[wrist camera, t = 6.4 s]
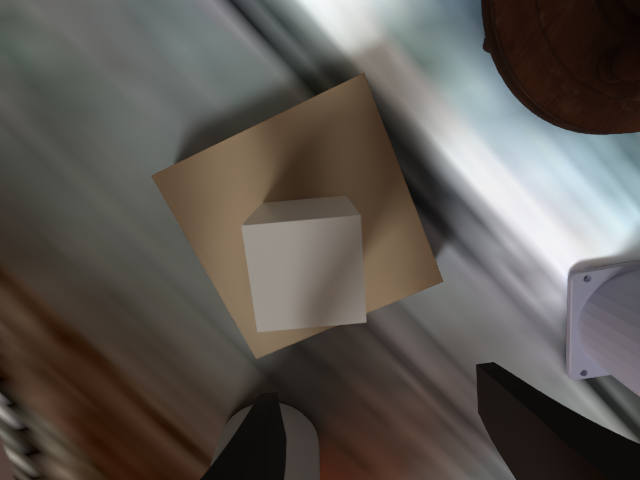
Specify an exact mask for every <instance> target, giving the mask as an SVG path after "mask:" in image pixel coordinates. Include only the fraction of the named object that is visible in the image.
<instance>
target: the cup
mask: <svg viewBox="0 0 640 480" xmlns="http://www.w3.org/2000/svg"><path fill="white" fill-rule="evenodd" d="M279 405H280V409H281V414H282V418H283V423H284V427H285V432H286V437H287V447H286V469H285V477H284V480H320V451H319V441H318V436H317V432H316V430H315V428H314V426H313V425H312V423H311V422H310V421H309V420H308V419H307V418H306V417H305V416H304V415H303V414H302V413H301V412H300V411H298V410H297V409H295V408H293V407H292V406H289V405H285V404H282V403H279ZM252 406H253V405H251V406H248V407H246V408H244V409H242V410H240V411H239V412H238V413H236V414H235V415H234V416H232V417H231V419H230V420H229V421H228V422H227V424H226V425H225V427H224V429H223V432H222V434H221V437H220V439H219V442H218V445H217V448H216V451H215V454H214V457H213V460H212V463H211V465H212V464H213V463H214V461H215V460H216V459H217V457H218V456H219V455H220V453H221V452H222V451H223V449H224V448H225V447H226V445H227V444H228V442H229V441H230V440H231V438H232V437H233V435H234V434H235V432H236V431H237V429H238V428H239V426H240V425H241V423H242V422H243V420H244V419H245V417H246V415H247V414H248V412H249V411H250V409H251V407H252ZM210 467H211V466H210Z"/></svg>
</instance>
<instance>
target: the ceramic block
mask: <svg viewBox="0 0 640 480" xmlns="http://www.w3.org/2000/svg"><path fill="white" fill-rule="evenodd" d="M241 227H242V234H243V241H244V247H245V254H246V261H247V267H248V274H249V281H250V287H251V294H252V300H253V307H254V314H255V320H256V327H257V332H267V331H278V330H289V329H301V328H312V327H323V326H334V325H345V324H356V323H367V321H366V303H365V285H364V266H363V248H362V229H361V215H360V213H359V212H358V211H357V209H356V208H355V207H354V205H353V204H352V203H351V201H350V200H349V199H348V197H347V196H346V195H345V196H333V197H322V198H311V199H299V200H288V201H277V202H266V203H261V204H260V205H259V207H258V208H257V209H256V210H255V211H254V212H253V213H252V214H251V215H250V217H249V218H248V219H247V220H246V221H245V222H244V223H243V224H242V225H241Z"/></svg>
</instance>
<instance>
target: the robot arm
mask: <svg viewBox="0 0 640 480" xmlns="http://www.w3.org/2000/svg"><path fill="white" fill-rule="evenodd" d="M586 275H587V278H586V279H585V280H583V279H584V277H585V276H586ZM582 370H583V371H582ZM476 371H477V395H478V413H479V415H480V417H481V419H482V421H483V424H484V426H485V428H486V430H487V432H488V434H489V436H490V438H491V440H492V442H493V443H494V445H495V447H496V448H497V450H498V452H499V453H500V455H501V456H502V458H503V460H504V461H505V463H506V464H507V466H508V468H509V469H510V471H511V472H512V474H513V475H514V477H515V479H516V480H640V444H639V443H636V442H634V441H632V440H630V439H627V438H625V437H623V436H621V435H619V434H617V433H615V432H613V431H611V430H609V429H607V428H605V427H602V426H600V425H598V424H597V423H595V422H593V421H591V420H589V419H587V418H585V417H583V416H581V415H580V414H578V413H576V412H574V411H572V410H571V409H569V408H567V407H565V406H564V405H562V404H560V403H558V402H557V401H555V400H553V399H552V398H550V397H548V396H547V395H545V394H543V393H542V392H540V391H538V390H537V389H535V388H534V387H532V386H531V385H529V384H527V383H526V382H524V381H523V380H521V379H520V378H518V377H516V376H515V375H513V374H512V373H510V372H509V371H507V370H506V369H504V368H502V367H501V366H499V365H498V364H496V363H494V362H490V363H483V364H476ZM581 371H582V372H581ZM566 374H567V376H568V377H570V378H571V379H573V380H578V379H585V378H592V377H598V376H605V375H612V376H613V377H615V378H616V379H617V380H619V381H620V382H621V383H623V384H624V385H625V386H626V387H628V388H629V389H630V390H632V391H633V392H634V393H636V394H637V395H638V396H640V261H633V262H627V263H621V264H615V265H609V266H602V267H596V268H590V269H584V270H578V271H574V272H572V273H571V274H570V275H569V276H568V294H567V343H566ZM286 447H287V437H286V432H285V427H284V423H283V418H282V414H281V409H280V405H279V400H278V396H277V392H272V393H265V394H260V395H259V396H258V398H257V399H256V401H255V403H254V404H253V406H252V407H251V409H250V411H249V412H248V414H247V415H246V417H245V419H244V420H243V422H242V423H241V425H240V426H239V428H238V429H237V431H236V432H235V434H234V435H233V437H232V438H231V440H230V441H229V442H228V444H227V445H226V447H225V448H224V449H223V451H222V452H221V453H220V455H219V456H218V457H217V459H216V460H215V461H214V463H213V464H212V465H211V467H210V468H209V469H208V470H207V472H206V473H205V474H204V475H203V477H202V478H201V479H200V480H284V477H285V469H286Z"/></svg>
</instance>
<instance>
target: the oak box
mask: <svg viewBox="0 0 640 480" xmlns="http://www.w3.org/2000/svg"><path fill="white" fill-rule="evenodd" d="M152 178H153V180H154V181H155V183H156V185H157V187H158V188H159V190H160V192H161V194H162V195H163V197H164V199H165V201H166V202H167V204H168V206H169V208H170V209H171V211H172V213H173V215H174V216H175V218H176V220H177V222H178V223H179V225H180V227H181V229H182V230H183V232H184V234H185V236H186V237H187V239H188V241H189V243H190V244H191V246H192V248H193V249H194V251H195V253H196V255H197V256H198V258H199V260H200V262H201V263H202V265H203V267H204V269H205V270H206V272H207V274H208V276H209V277H210V279H211V281H212V283H213V284H214V286H215V288H216V290H217V291H218V293H219V295H220V297H221V298H222V300H223V302H224V304H225V305H226V307H227V309H228V311H229V312H230V314H231V316H232V317H233V319H234V321H235V323H236V324H237V326H238V328H239V330H240V331H241V333H242V335H243V337H244V338H245V340H246V342H247V344H248V345H249V347H250V349H251V351H252V352H253V354H254V356H255V358H256V359H258V358H260V357H263V356H265V355H267V354H270V353H272V352H275V351H277V350H279V349H282V348H284V347H287V346H289V345H292V344H294V343H296V342H299V341H301V340H304V339H306V338H308V337H311V336H313V335H316V334H318V333H321V332H323V331H325V330H328V329H330V328H333V327H335V326H337V325H334V326H323V327H312V328H301V329H289V330H278V331H267V332H257V327H256V320H255V314H254V307H253V300H252V294H251V287H250V281H249V274H248V267H247V261H246V254H245V247H244V241H243V234H242V227H241V225H242V224H243V223H244V222H245V221H246V220H247V219H248V218H249V217H250V215H251V214H252V213H253V212H254V211H255V210H256V209H257V208H258V207H259V205H260V204H261V203H266V202H277V201H288V200H299V199H311V198H322V197H333V196H345V195H346V196H347V197H348V199H349V200H350V201H351V203H352V204H353V205H354V207H355V208H356V209H357V211H358V212H359V213H360V215H361V229H362V248H363V266H364V285H365V303H366V313H369V312H371V311H374V310H376V309H379V308H381V307H383V306H386V305H388V304H391V303H393V302H395V301H398V300H400V299H403V298H405V297H408V296H410V295H412V294H415V293H417V292H420V291H422V290H424V289H427V288H429V287H432V286H434V285H437V284H439V283H441V282H443V279H442V276H441V274H440V271H439V269H438V266H437V263H436V261H435V258H434V255H433V253H432V250H431V248H430V245H429V242H428V240H427V237H426V234H425V232H424V229H423V227H422V224H421V221H420V219H419V216H418V213H417V211H416V208H415V206H414V203H413V200H412V198H411V195H410V192H409V190H408V187H407V185H406V182H405V179H404V177H403V174H402V171H401V169H400V166H399V164H398V161H397V158H396V156H395V153H394V151H393V148H392V145H391V143H390V140H389V137H388V135H387V132H386V130H385V127H384V124H383V122H382V119H381V116H380V114H379V111H378V109H377V106H376V103H375V101H374V98H373V95H372V93H371V90H370V88H369V85H368V82H367V80H366V77H365V74H364V73H363V74H360V75H358V76H356V77H354V78H352V79H350V80H348V81H346V82H344V83H342V84H340V85H338V86H336V87H334V88H332V89H329V90H327V91H325V92H323V93H321V94H319V95H317V96H315V97H313V98H311V99H309V100H307V101H305V102H303V103H300V104H298V105H296V106H294V107H292V108H290V109H288V110H286V111H284V112H282V113H280V114H278V115H276V116H274V117H272V118H269V119H267V120H265V121H263V122H261V123H259V124H257V125H255V126H253V127H251V128H249V129H247V130H245V131H243V132H241V133H238V134H236V135H234V136H232V137H230V138H228V139H226V140H224V141H222V142H220V143H218V144H216V145H214V146H212V147H209V148H207V149H205V150H203V151H201V152H199V153H197V154H195V155H193V156H191V157H189V158H187V159H185V160H183V161H181V162H178V163H176V164H174V165H172V166H170V167H168V168H166V169H164V170H162V171H160V172H158V173H156V174H154V175H152Z"/></svg>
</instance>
